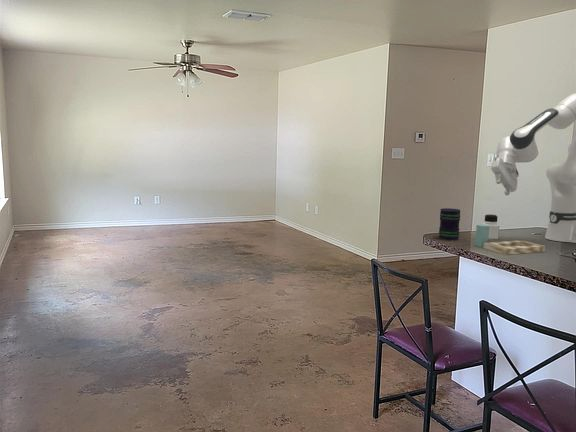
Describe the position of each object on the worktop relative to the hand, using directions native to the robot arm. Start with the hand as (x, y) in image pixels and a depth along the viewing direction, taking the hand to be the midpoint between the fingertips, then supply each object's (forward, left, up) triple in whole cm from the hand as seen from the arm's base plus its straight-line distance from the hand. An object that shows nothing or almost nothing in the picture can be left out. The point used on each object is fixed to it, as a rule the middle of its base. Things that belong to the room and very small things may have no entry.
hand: (502, 188), depth 230 cm
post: (+7, -3, -28) cm, 29 cm away
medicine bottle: (-11, -19, -28) cm, 36 cm away
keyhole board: (-2, +8, -28) cm, 29 cm away
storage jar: (+11, -23, -28) cm, 38 cm away
